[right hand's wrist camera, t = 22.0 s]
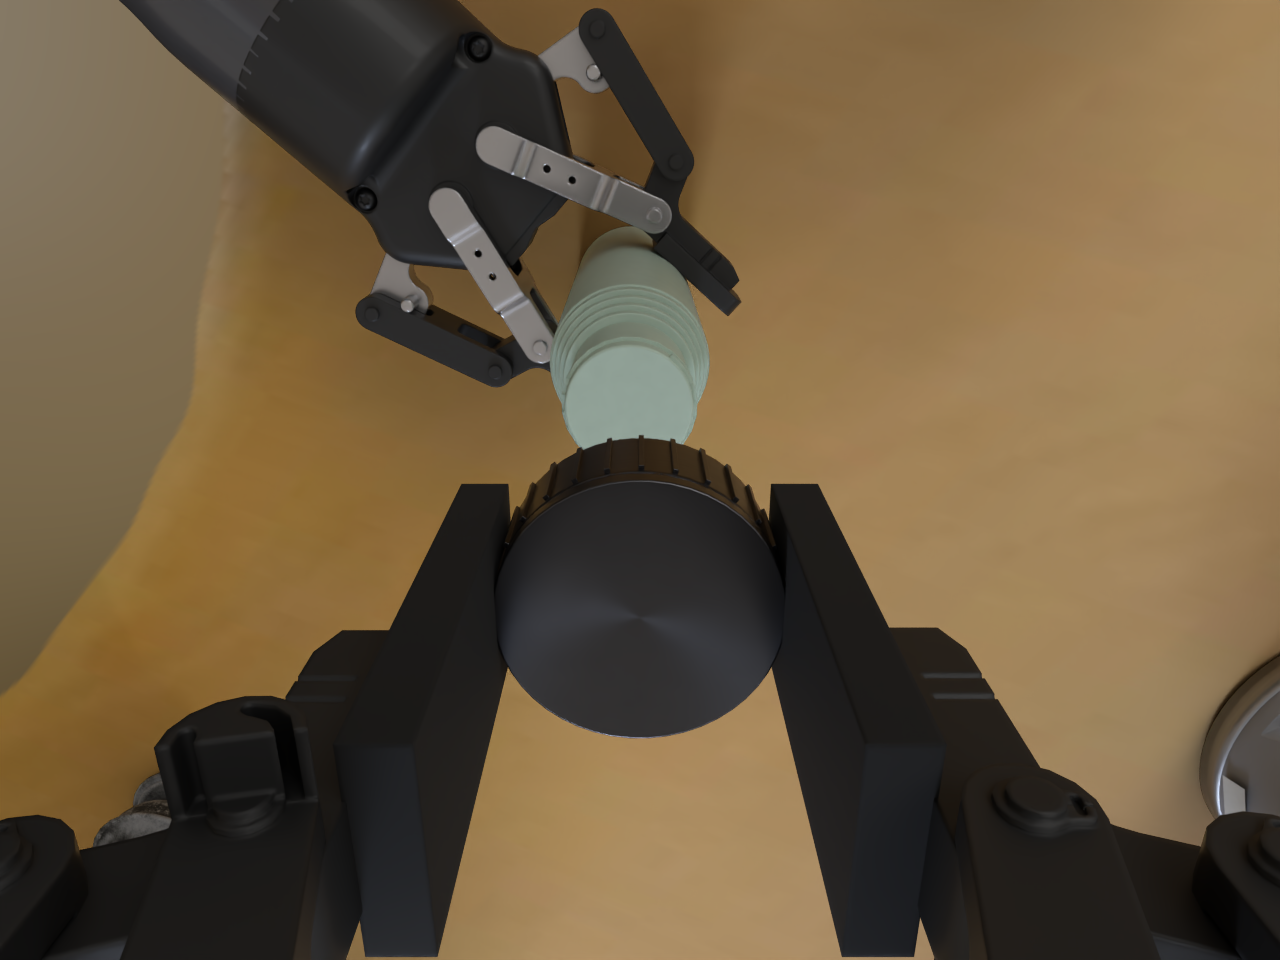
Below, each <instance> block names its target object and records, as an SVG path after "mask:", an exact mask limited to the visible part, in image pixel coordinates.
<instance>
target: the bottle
mask: <svg viewBox="0 0 1280 960" xmlns="http://www.w3.org/2000/svg"><path fill="white" fill-rule="evenodd" d="M652 240H653V239H652V238H651V237H650V236H649V235H648V234H646V233H645V232H644V231H643V230H641V229H639V228H636V227H633V226H629V227H620V228H616V229H613V230H610V231H608V232H606V233H604V234H603V235H601V236H600V237H598V238H597V239H596V240H595V241H594V242H593V243H592V244H591V245H590V246H589V248H588V249H587V251H586V252H585V254H584V256H583V258H582V260H581V263H580V266H579V269H578V271H577V274H576V277H575V280H574V282H573V285H572V288H571V291H570V294H569V296H568V299H567V302H566V305H565V307H564V310H563V313H562V316H561V319H560V321H559V324H558V327H557V330H556V332H555V335H554V338H553V342H552V346H551V352H550V371H551V377H552V381H553V384H554V387H555V390H556V393H557V395H558V397H559V399H560V401H561V403H562V414H563V417H564V420H565V424H566V427H567V430H568V431H569V433H570V434H571V436H572V438H573V439H574V441H575V442H576V444H577V445H578V446H579V447H582V448H583V450H584V449H586V448H589V447H591V446H594V445H597V444H601V443H605V442H607V439H608V438H612V440H619V439H629V438H639V435H644V438H651V439H659V440H667V441H670V438H672V439H675V440H676V443H679V444H684V442H685V441H686V439H687V437H688V436H689V434H690V433H691V431H692V428H693V425H694V422H695V419H696V416H697V404H698V402H699V400H700V398H701V396H702V394H703V391H704V389H705V386H706V383H707V379H708V374H709V350H708V344H707V341H706V337H705V334H704V331H703V328H702V325H701V322H700V319H699V316H698V313H697V310H696V307H695V304H694V301H693V298H692V295H691V292H690V289H689V286H688V283H687V279H686V278H685V277H684V276H683V275H682V274H681V273H680V272H679V271H678V270H677V269H676V268H675V267H674V266H673V265H672V264H670V263H669V262H668V261H667V260H666V259H665V258H663V257H662V256H661V255H660V254H659V253H658V252H657V251H656V250H655V249H654V248H653V242H652Z"/></svg>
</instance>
